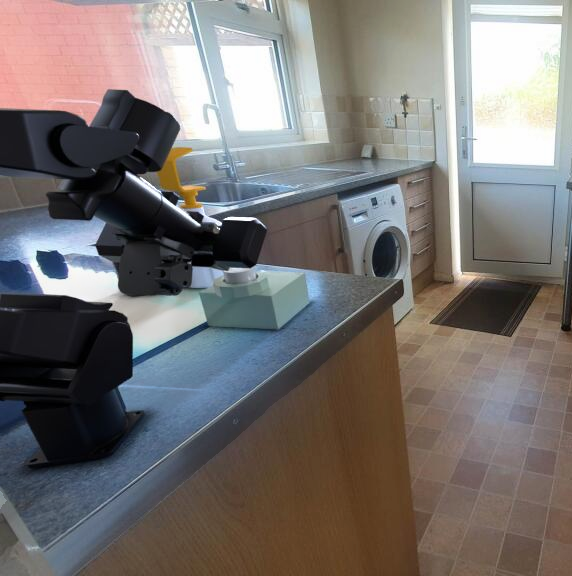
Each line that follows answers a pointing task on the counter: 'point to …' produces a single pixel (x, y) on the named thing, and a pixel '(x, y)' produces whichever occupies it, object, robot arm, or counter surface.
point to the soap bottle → (171, 182)
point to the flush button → (239, 275)
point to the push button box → (256, 300)
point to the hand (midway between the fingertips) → (227, 267)
